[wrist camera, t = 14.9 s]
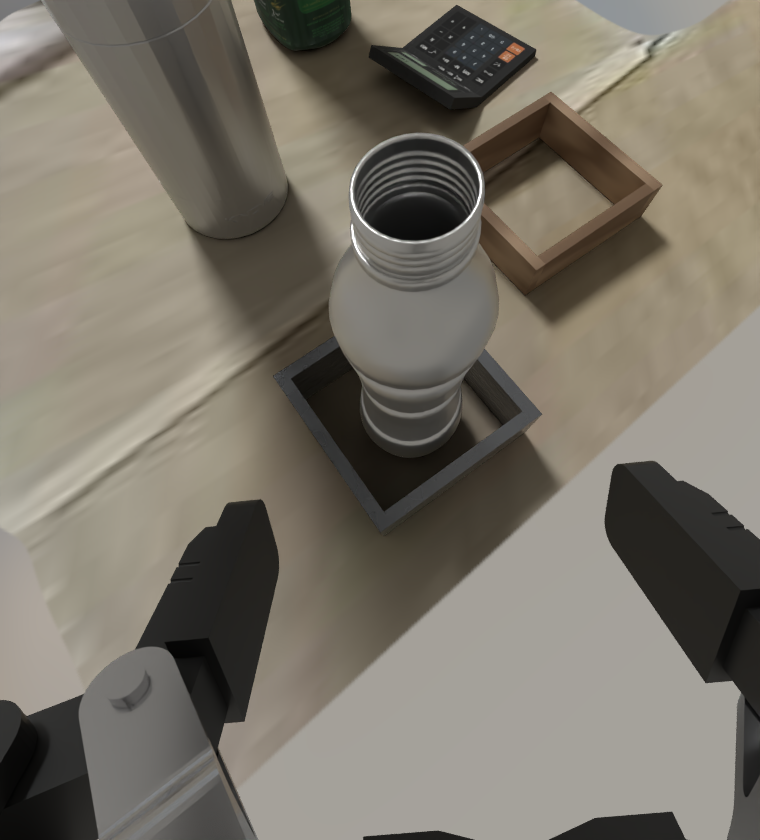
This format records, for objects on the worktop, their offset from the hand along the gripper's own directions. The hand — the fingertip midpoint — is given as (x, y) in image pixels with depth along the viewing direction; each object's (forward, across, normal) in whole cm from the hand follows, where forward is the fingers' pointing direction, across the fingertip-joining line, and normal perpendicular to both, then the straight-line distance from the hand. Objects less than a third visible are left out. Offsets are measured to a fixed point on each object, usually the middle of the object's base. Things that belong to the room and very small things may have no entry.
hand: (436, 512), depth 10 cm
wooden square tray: (+31, -12, -4) cm, 33 cm away
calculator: (+42, -8, -15) cm, 46 cm away
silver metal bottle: (+19, 0, +8) cm, 21 cm away
